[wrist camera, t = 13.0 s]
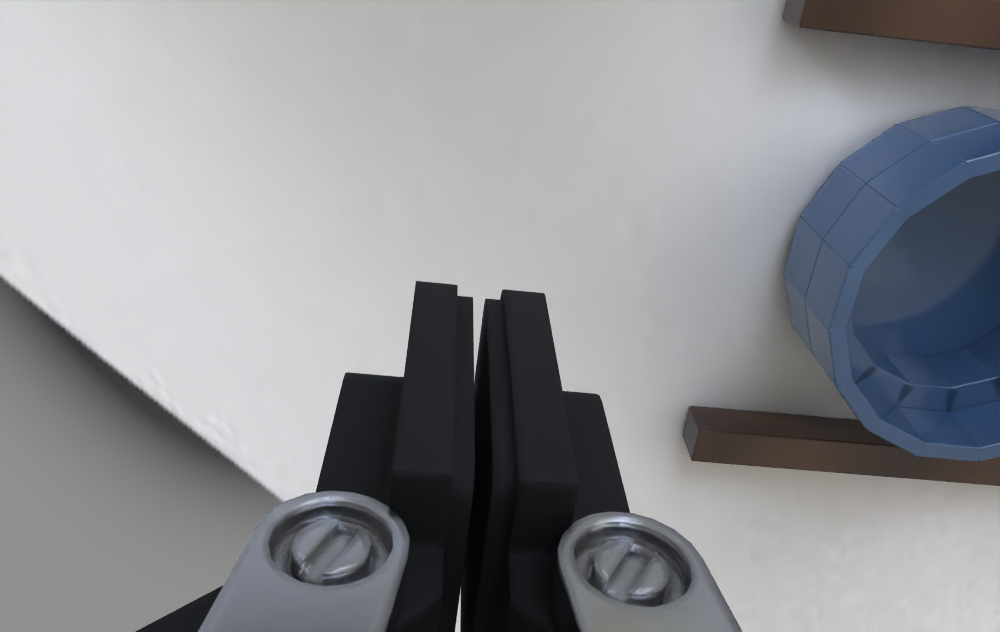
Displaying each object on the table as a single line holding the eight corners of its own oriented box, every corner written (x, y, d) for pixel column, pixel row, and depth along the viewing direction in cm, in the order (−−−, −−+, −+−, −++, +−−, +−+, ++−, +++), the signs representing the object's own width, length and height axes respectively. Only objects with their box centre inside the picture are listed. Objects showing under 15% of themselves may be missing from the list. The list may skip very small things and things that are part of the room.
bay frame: (681, 436, 36) (691, 461, 34) (792, -29, 28) (811, -24, 26) (1039, 465, 37) (1065, 492, 35) (1245, 24, 29) (1289, 32, 27)
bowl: (749, 370, 34) (791, 445, 30) (829, 86, 29) (894, 123, 25) (1017, 396, 35) (1099, 473, 30) (1139, 123, 30) (1258, 166, 26)
